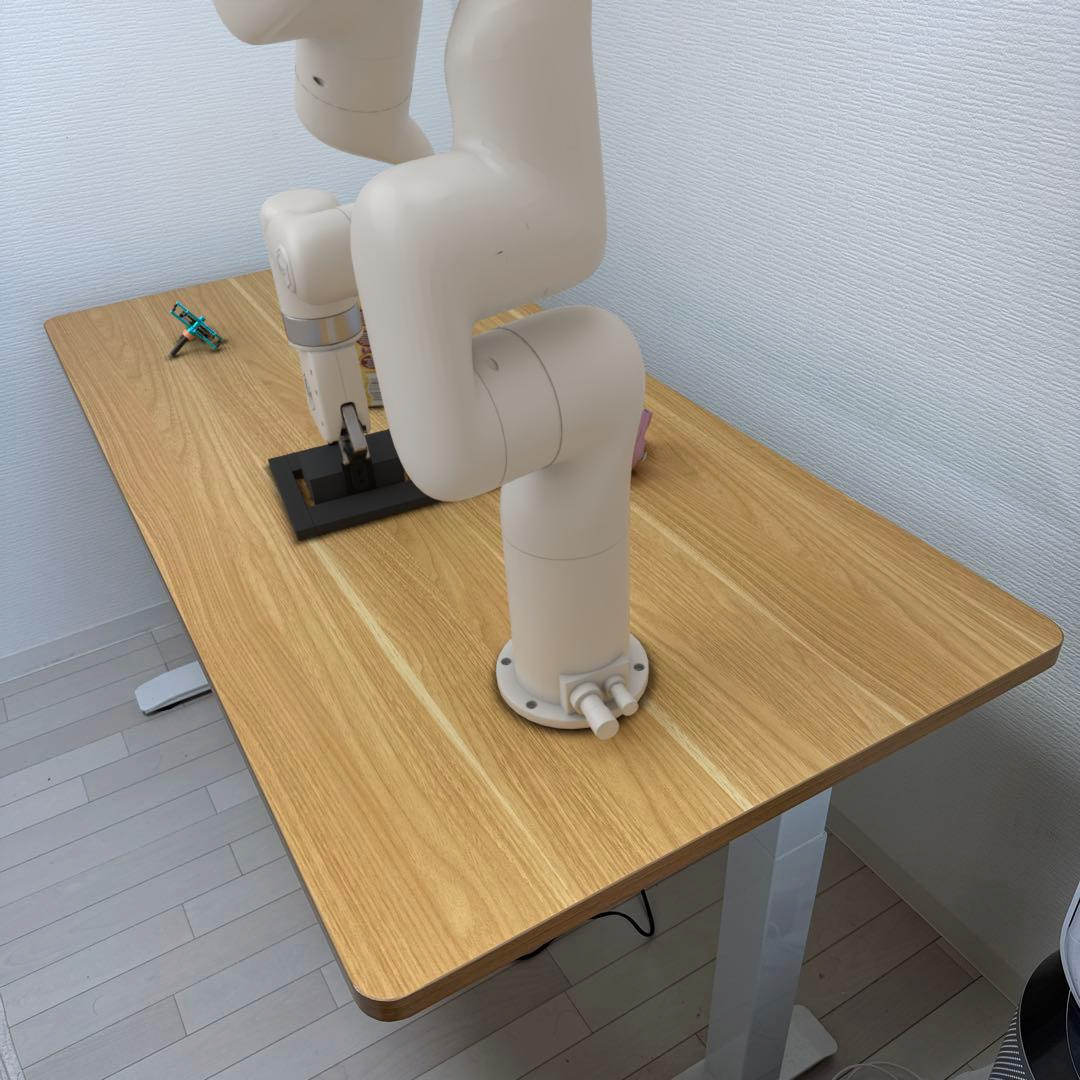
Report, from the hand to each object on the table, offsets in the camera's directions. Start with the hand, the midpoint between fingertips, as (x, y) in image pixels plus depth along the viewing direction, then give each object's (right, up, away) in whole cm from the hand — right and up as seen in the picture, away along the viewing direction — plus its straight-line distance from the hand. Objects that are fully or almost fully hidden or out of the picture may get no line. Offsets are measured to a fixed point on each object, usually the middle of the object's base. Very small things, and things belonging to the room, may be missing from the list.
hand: (354, 475), depth 105 cm
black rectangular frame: (+3, 0, +2) cm, 3 cm away
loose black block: (0, -1, 0) cm, 1 cm away
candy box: (0, +12, +19) cm, 22 cm away
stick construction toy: (-30, +21, +34) cm, 50 cm away
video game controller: (+30, +1, +1) cm, 30 cm away
